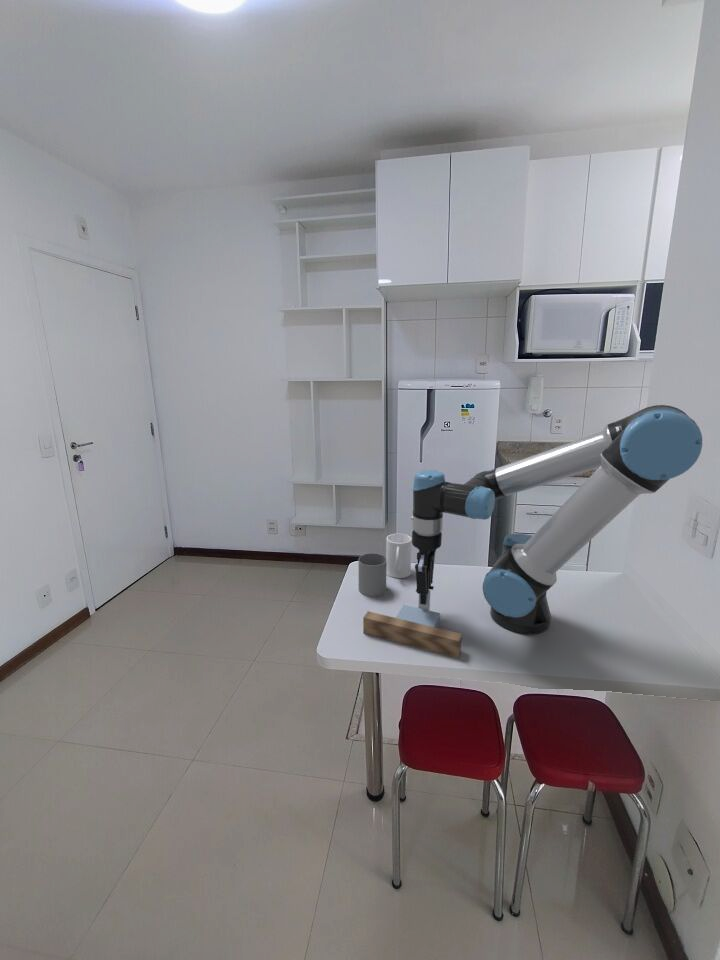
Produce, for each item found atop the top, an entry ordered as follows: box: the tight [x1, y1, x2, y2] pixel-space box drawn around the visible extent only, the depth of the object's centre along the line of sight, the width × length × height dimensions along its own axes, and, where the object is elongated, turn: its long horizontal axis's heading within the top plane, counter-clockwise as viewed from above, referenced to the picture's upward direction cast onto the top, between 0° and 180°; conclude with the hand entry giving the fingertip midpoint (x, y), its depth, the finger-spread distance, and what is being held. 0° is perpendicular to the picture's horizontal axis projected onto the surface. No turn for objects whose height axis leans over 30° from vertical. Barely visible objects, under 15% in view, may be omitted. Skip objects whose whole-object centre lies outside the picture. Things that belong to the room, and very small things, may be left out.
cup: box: [358, 552, 387, 597], centre depth 128 cm, size 8×8×10 cm
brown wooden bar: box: [362, 610, 463, 659], centre depth 104 cm, size 24×3×4 cm, turn 67°
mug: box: [385, 533, 412, 579], centre depth 136 cm, size 12×8×12 cm
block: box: [395, 604, 441, 628], centre depth 110 cm, size 10×8×4 cm
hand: (423, 612), depth 115 cm, fingers closed
